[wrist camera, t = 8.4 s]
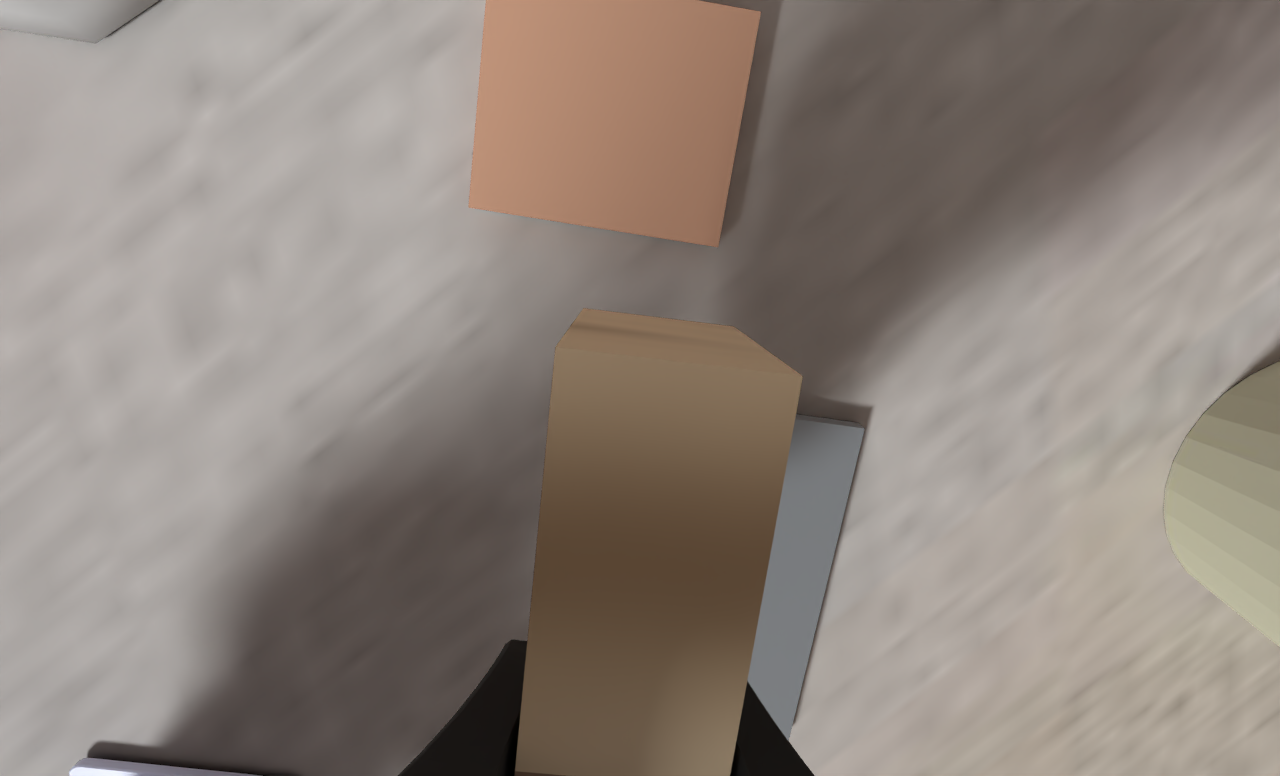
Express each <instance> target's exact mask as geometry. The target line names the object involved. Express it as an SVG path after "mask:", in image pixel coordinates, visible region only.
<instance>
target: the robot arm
mask: <svg viewBox="0 0 1280 776" xmlns="http://www.w3.org/2000/svg"><path fill="white" fill-rule="evenodd" d="M526 650H527V641H519V640H511V641H509V642H508V643H507V644H505V646H504V648H503V649H502V651H501V653H500V655H499V656H498V658H497V659H496V661H495V662H494V664H493V665H492V667H491V668H490V670H489V671H488V673H487V674H486V675H485V677H484V678H483V679H482V681H481V682H480V683H479V685H478V686H477V688H476V689H475V690H474V691H473V693H472V694H471V695H470V696H469V698H468V699H467V700H466V701H465V703H464V704H463V705H462V706H461V708H460V709H459V710H458V711H457V713H456V714H455V715H454V716H453V717H452V719H451V720H450V721H449V722H448V723H447V724H446V725H445V726H444V728H443V729H442V730H441V731H440V732H439V733H438V734H437V735H436V736H435V738H434V739H433V740H432V741H431V742H430V743H429V744H428V745H427V746H426V747H425V749H424V750H423V751H422V752H421V753H420V754H419V755H418V756H417V757H416V758H415V759H414V760H413V761H412V762H411V763H410V764H409V765H408V766H407V767H406V768H405V769H404V770H403V771H402V772H401V773H400V774H399V775H398V776H515V766H516V755H517V745H518V734H519V724H520V713H521V703H522V692H523V682H524V671H525V661H526ZM69 776H261V775H251V774H241V773H232V772H222V771H213V770H203V769H193V768H184V767H174V766H165V765H155V764H145V763H136V762H126V761H116V760H107V759H97V758H84V759H81V760H79V761H78V762H77V763H76V764H75V765H74V766H73V767H72V768H71V770H70V772H69ZM730 776H814V774H813V773H812V772H811V771H810V769H809V768H808V767H807V765H806V764H805V763H804V761H803V760H802V759H801V758H800V756H799V755H798V753H797V752H796V751H795V749H794V748H793V747H792V745H791V744H790V742H789V741H788V740H787V738H786V737H785V736H784V734H783V733H782V731H781V730H780V729H779V727H778V726H777V724H776V723H775V721H774V720H773V719H772V717H771V716H770V714H769V713H768V711H767V710H766V708H765V707H764V705H763V704H762V702H761V701H760V699H759V698H758V696H757V695H756V693H755V692H754V690H753V688H752V687H751V685H750V684H749V682H748V681H747V685H746V691H745V696H744V702H743V707H742V713H741V718H740V724H739V729H738V735H737V740H736V746H735V751H734V757H733V762H732V768H731V773H730Z"/></svg>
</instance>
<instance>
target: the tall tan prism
mask: <svg viewBox="0 0 1280 776" xmlns="http://www.w3.org/2000/svg"><path fill="white" fill-rule="evenodd" d="M802 379H803V376H802V375H800V374H799V373H798V372H796V371H795V370H794V369H792V368H791V367H789V366H788V365H787V364H785V363H784V362H782V361H781V360H780V359H778V358H777V357H775V356H774V355H773V354H771V353H770V352H769V351H767V350H766V349H764V348H763V347H762V346H760V345H759V344H757V343H756V342H755V341H753V340H752V339H750V338H749V337H748V336H746V335H745V334H744V333H742V332H741V331H739V330H738V329H737V328H735V327H734V326H726V325H718V324H709V323H701V322H693V321H685V320H676V319H668V318H660V317H652V316H643V315H635V314H627V313H619V312H610V311H602V310H594V309H586V308H583V310H582V311H581V312H580V314H579V315H578V317H577V318H576V319H575V321H574V322H573V323H572V325H571V326H570V328H569V329H568V330H567V332H566V333H565V334H564V336H563V337H562V339H561V340H560V341H559V343H558V344H557V346H556V347H555V357H554V367H553V378H552V388H551V399H550V409H549V420H548V430H547V441H546V451H545V462H544V472H543V482H542V493H541V503H540V514H539V524H538V535H537V545H536V556H535V566H534V577H533V587H532V598H531V608H530V619H529V629H528V640H527V650H526V661H525V671H524V682H523V692H522V703H521V713H520V724H519V734H518V745H517V755H516V766H515V776H730V773H731V768H732V762H733V757H734V751H735V746H736V740H737V735H738V729H739V724H740V718H741V713H742V707H743V702H744V696H745V691H746V685H747V680H748V674H749V669H750V664H751V658H752V653H753V647H754V642H755V636H756V631H757V625H758V620H759V614H760V609H761V603H762V598H763V592H764V587H765V581H766V576H767V570H768V565H769V559H770V554H771V548H772V543H773V537H774V532H775V527H776V521H777V516H778V510H779V505H780V499H781V494H782V488H783V483H784V477H785V472H786V466H787V461H788V455H789V450H790V444H791V439H792V433H793V428H794V422H795V417H796V411H797V406H798V400H799V395H800V389H801V384H802Z"/></svg>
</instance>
